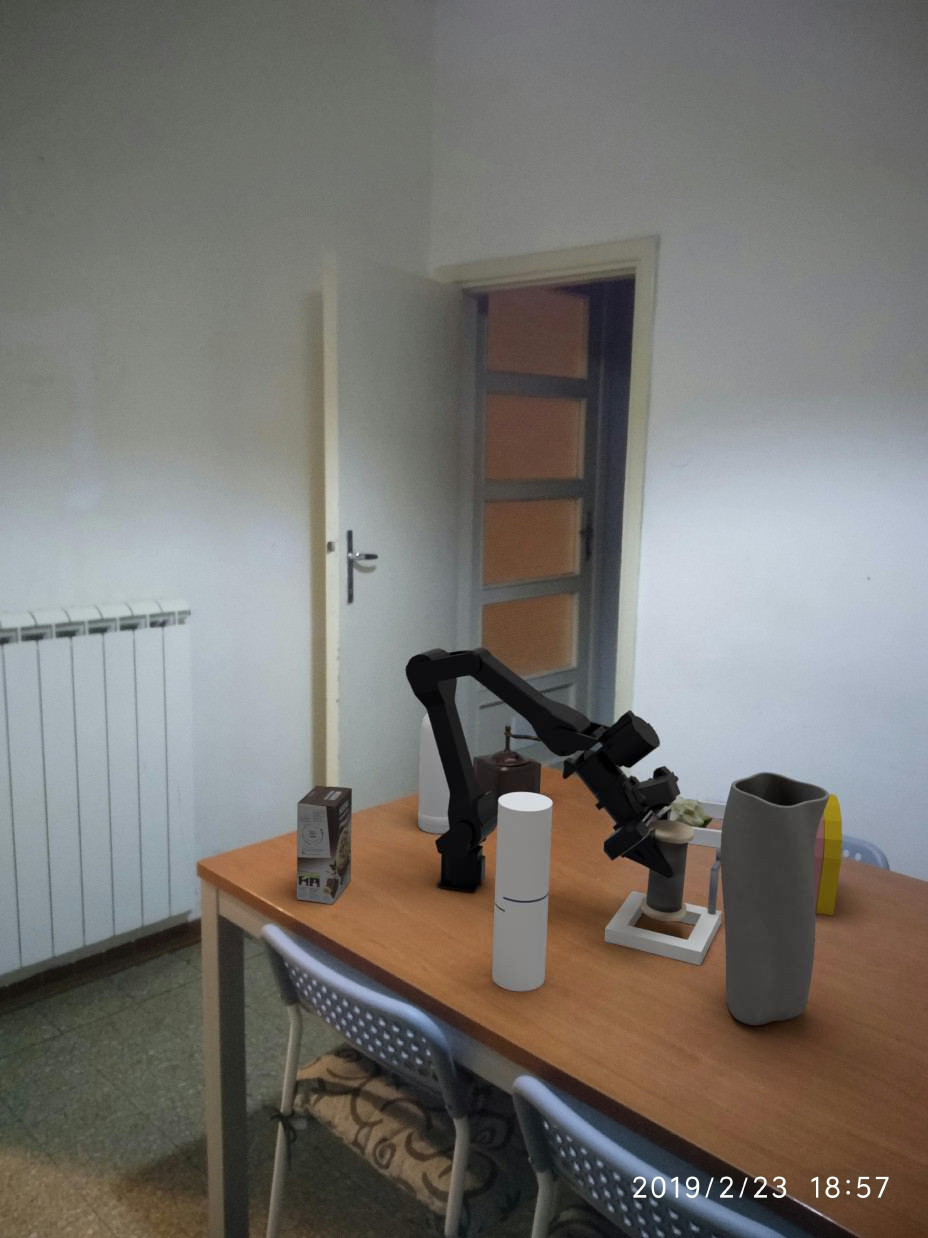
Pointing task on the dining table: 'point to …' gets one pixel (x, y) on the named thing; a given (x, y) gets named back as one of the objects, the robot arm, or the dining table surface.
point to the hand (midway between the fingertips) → (676, 869)
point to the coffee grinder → (508, 770)
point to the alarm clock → (827, 857)
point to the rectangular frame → (666, 945)
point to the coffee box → (324, 843)
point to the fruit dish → (709, 835)
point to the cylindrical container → (521, 890)
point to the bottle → (431, 784)
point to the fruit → (688, 812)
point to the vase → (769, 895)
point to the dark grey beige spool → (673, 845)
